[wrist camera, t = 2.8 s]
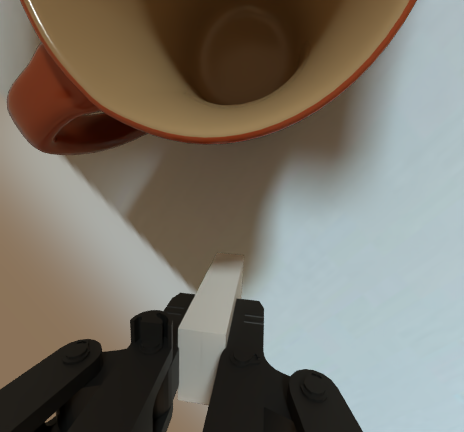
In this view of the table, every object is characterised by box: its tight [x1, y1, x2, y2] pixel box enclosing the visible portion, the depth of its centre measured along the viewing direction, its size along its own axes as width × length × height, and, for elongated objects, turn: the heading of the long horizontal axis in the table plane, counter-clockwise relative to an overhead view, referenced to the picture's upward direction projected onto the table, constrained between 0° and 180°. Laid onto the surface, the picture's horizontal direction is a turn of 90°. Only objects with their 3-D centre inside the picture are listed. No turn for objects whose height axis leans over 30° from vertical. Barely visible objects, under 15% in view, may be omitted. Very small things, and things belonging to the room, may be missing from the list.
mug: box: [7, 0, 417, 155], centre depth 10 cm, size 12×9×10 cm
